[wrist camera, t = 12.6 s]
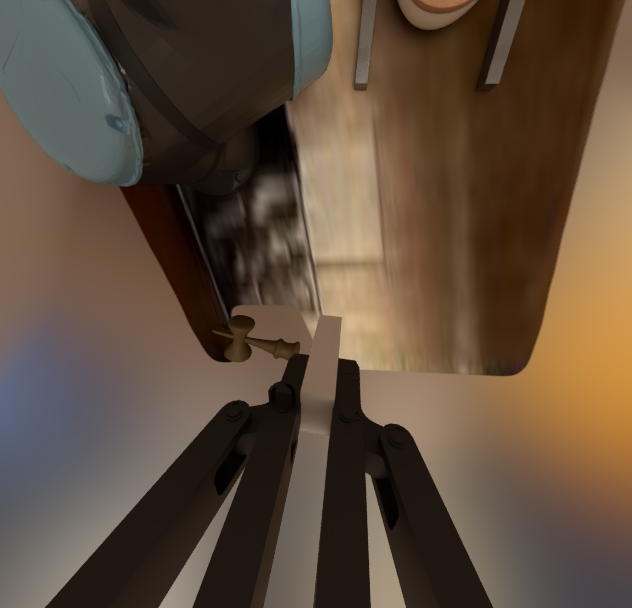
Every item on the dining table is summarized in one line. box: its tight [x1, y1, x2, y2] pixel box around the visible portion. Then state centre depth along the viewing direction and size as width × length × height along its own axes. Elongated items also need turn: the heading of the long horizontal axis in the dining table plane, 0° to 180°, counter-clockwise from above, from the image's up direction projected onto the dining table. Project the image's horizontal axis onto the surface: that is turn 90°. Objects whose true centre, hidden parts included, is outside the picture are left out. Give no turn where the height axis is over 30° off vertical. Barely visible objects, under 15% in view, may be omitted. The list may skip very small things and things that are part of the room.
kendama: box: [213, 315, 300, 362], centre depth 51 cm, size 6×10×20 cm
